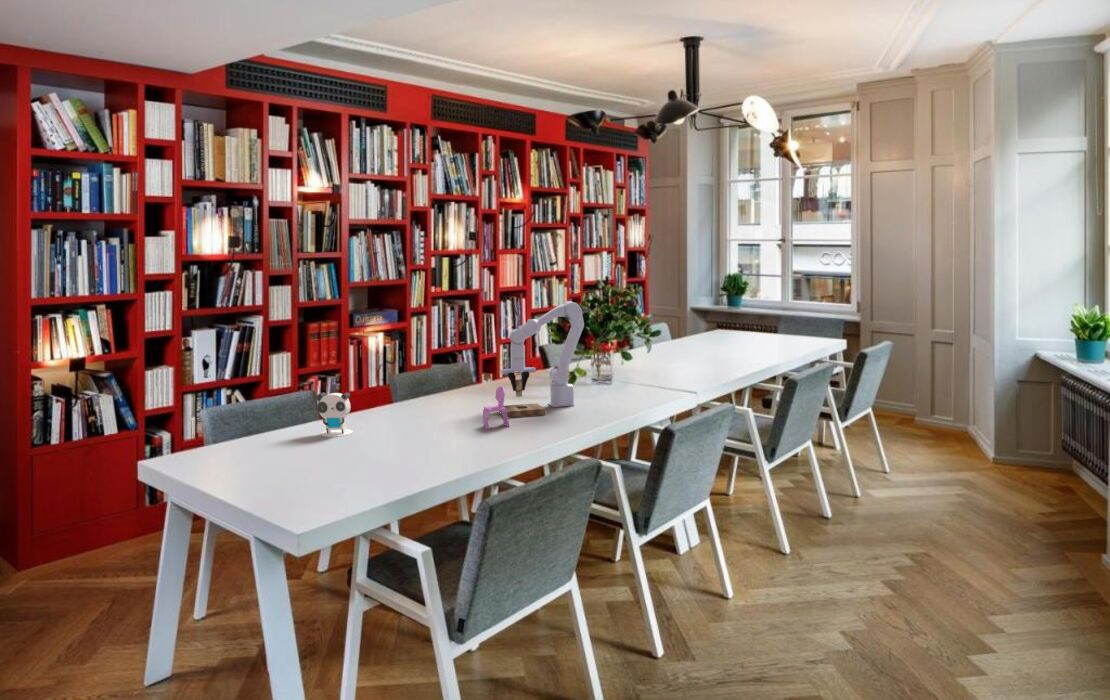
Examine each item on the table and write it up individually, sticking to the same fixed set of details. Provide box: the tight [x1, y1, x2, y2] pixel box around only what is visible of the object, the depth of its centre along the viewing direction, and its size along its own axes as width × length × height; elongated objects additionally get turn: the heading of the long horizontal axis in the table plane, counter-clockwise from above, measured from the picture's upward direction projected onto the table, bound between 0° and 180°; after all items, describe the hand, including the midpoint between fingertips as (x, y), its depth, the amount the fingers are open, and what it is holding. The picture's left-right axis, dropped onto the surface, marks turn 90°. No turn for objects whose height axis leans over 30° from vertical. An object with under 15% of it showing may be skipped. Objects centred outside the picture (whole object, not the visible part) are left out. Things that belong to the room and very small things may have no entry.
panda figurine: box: [316, 392, 353, 438], centre depth 298 cm, size 12×11×15 cm
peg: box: [515, 378, 524, 398], centre depth 340 cm, size 3×3×7 cm
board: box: [498, 403, 546, 418], centre depth 328 cm, size 16×12×2 cm
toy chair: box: [482, 386, 511, 430], centre depth 305 cm, size 8×9×15 cm
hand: (518, 390), depth 341 cm, fingers closed on peg, 3 cm apart
